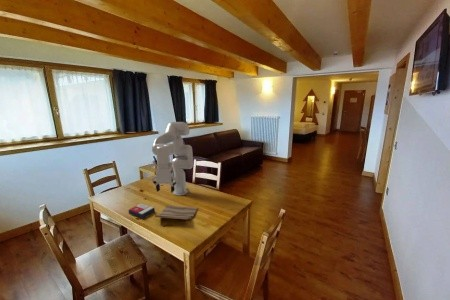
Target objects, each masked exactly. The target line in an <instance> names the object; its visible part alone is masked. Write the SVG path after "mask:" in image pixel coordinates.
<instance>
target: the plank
mask: <svg viewBox="0 0 450 300" xmlns="http://www.w3.org/2000/svg"><path fill="white" fill-rule="evenodd" d="M154 218H162V219H163V218H164V219H176V220H177V219H178V220H190V219H192V218H191V217H188V216H174V215H160V214H155V216H154Z"/></svg>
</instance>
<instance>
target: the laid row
mask: <svg viewBox="0 0 450 300" xmlns="http://www.w3.org/2000/svg"><path fill="white" fill-rule="evenodd" d="M197 211H198V207H193V206H177V205H165V207H164V208H163V209H162V211H161V212H160V213H159V215H174V216H188V217H191V219H194V216H195V215H196V213H197Z"/></svg>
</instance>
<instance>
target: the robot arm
mask: <svg viewBox="0 0 450 300" xmlns="http://www.w3.org/2000/svg"><path fill="white" fill-rule="evenodd" d="M189 134H190V126H189V125H188V124H187V123H186V122H185V121H171V122H169V123H168V124H167V125H166V127H165V131H164V133H163V134H161V135H159V136H158V137H157V138H155V139H154V141H153V145H152V147H151V152H152V153H153V155H154V156H156V161H157V162H156V163H157V167H156V169H155V176H154V177H152V178H151V181H152V183H153V184H154V185H155V190H156V192H157V193H158V192H159V191H160V190H161V186H160V184H164V185H165V184H166V185H170V193H172V194H173V195H175V196H184V195H187V194H188V189H187V185H186V172H185V171H184V170H188V169H189V170H190V169H192V168H193V167H194V155H193V147H192V146H191V145H190V144H184V138H183V136H188V135H189ZM172 155H173V156H174V158H172V160H171V159H170V156H172Z"/></svg>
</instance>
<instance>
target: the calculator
mask: <svg viewBox="0 0 450 300" xmlns="http://www.w3.org/2000/svg"><path fill="white" fill-rule="evenodd" d="M154 213H156V210H155V207H154V206H150V205H146V204H143V203H138V205H136V206H133V207H131V208H129V209H128V214H129V215H132V216H134V217H136V218H139V219H141V220H143V219H145V218H148V217H150V216H151V215H152V214H154Z"/></svg>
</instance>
